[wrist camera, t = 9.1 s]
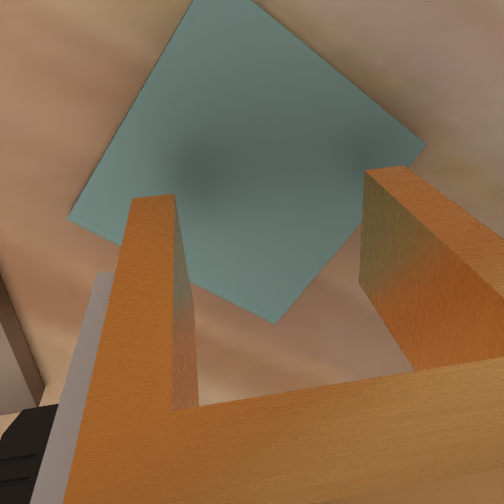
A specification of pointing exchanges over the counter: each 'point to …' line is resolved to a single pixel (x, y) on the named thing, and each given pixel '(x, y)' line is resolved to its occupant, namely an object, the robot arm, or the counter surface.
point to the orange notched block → (314, 399)
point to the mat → (246, 155)
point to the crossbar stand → (16, 363)
